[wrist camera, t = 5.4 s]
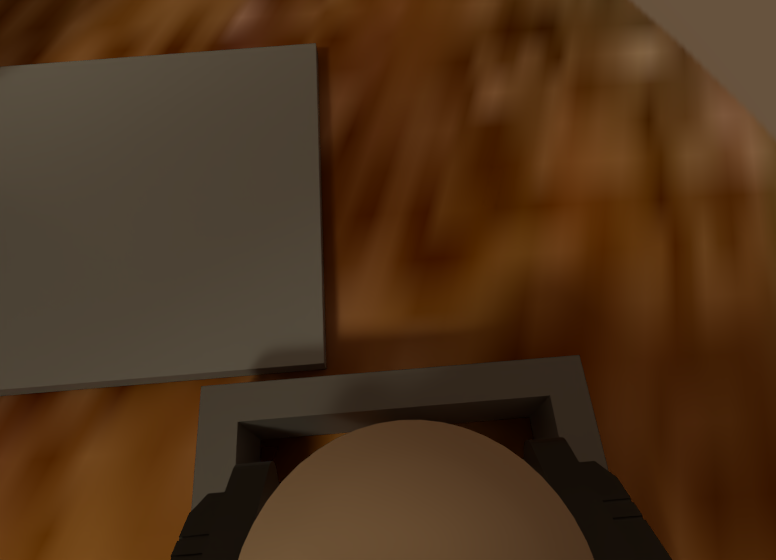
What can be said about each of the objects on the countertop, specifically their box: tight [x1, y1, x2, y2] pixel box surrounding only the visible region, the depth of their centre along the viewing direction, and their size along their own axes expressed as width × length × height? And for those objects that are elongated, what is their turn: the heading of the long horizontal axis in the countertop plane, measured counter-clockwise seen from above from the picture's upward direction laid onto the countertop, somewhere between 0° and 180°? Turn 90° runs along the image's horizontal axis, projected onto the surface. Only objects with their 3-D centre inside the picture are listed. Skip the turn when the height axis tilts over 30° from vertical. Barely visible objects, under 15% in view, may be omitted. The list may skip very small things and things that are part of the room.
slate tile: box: [0, 43, 326, 396], centre depth 20 cm, size 14×14×1 cm
